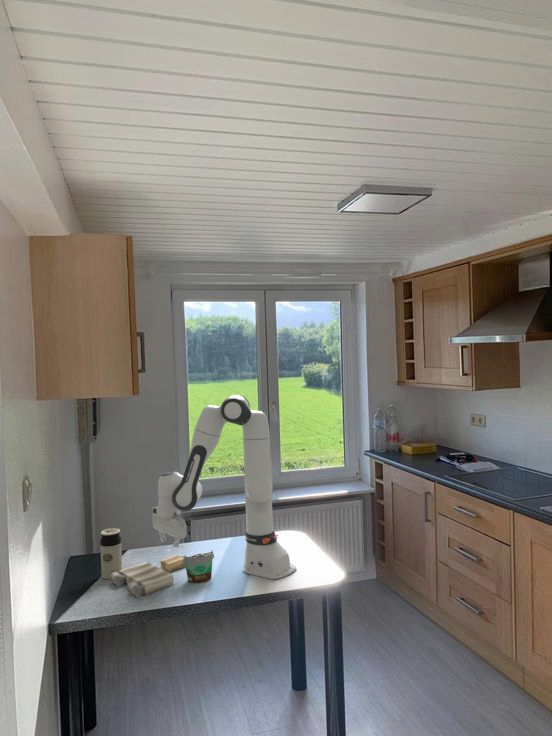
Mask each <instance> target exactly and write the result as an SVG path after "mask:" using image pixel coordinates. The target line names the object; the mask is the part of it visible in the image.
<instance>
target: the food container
mask: <svg viewBox="0 0 552 736" xmlns="http://www.w3.org/2000/svg"><path fill="white" fill-rule="evenodd" d="M183 556H184V560H183V561H184V562H185V564H186V566H185V570H186V577H187V582H188V583H193V584H202V583H206V582H209V581H210V580H211V579H212V571H213V570H212V569H213V559H215V553H214V550H211V551H209V552H206V553H197V554H194V555H192V556H191V555H190V556H186V555H183Z"/></svg>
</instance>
